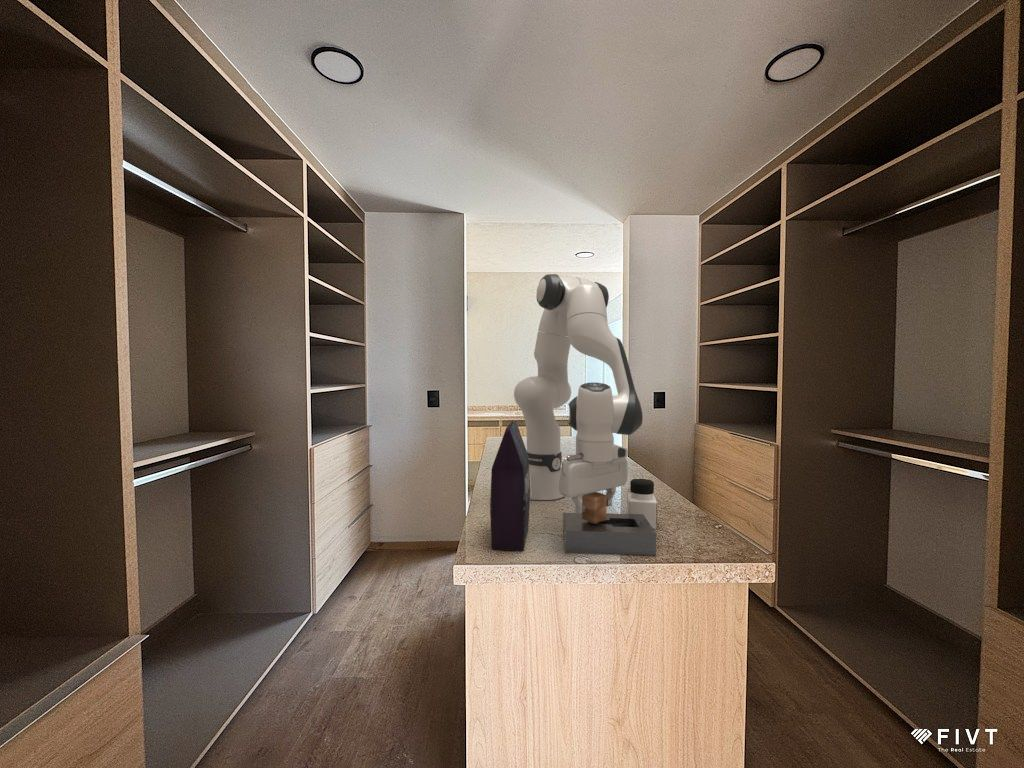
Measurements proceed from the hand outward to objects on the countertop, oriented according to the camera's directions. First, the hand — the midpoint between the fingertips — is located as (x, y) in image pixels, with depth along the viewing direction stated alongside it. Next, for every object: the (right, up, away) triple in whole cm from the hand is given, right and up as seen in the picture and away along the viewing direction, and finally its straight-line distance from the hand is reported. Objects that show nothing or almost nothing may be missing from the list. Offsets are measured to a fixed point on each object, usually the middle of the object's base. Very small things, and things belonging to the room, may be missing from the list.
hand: (594, 509), depth 107 cm
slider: (0, -8, 0) cm, 8 cm away
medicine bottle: (+15, -8, +13) cm, 22 cm away
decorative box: (-20, -8, +3) cm, 21 cm away
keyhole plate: (+3, -8, 0) cm, 9 cm away
